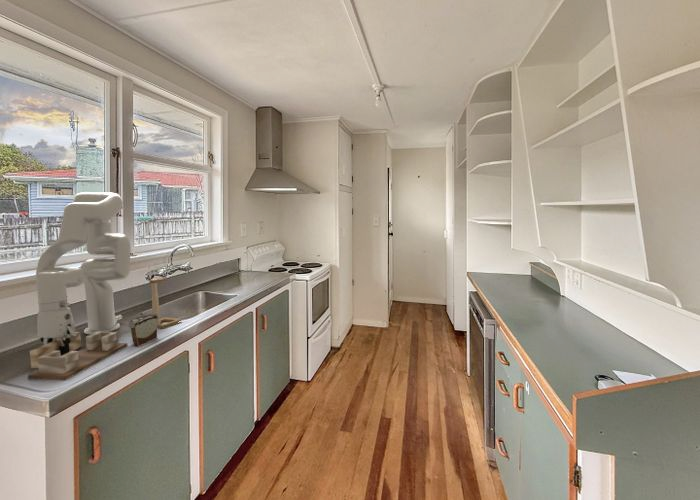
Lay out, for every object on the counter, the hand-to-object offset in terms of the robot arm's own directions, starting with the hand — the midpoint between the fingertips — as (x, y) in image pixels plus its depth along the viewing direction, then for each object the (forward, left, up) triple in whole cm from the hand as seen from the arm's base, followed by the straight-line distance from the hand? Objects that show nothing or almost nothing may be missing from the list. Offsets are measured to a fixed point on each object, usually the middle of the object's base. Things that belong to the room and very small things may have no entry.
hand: (58, 354), depth 117 cm
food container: (-15, +20, -1) cm, 25 cm away
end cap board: (+3, +12, -1) cm, 12 cm away
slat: (0, 0, -1) cm, 1 cm away
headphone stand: (-35, +17, -1) cm, 39 cm away
